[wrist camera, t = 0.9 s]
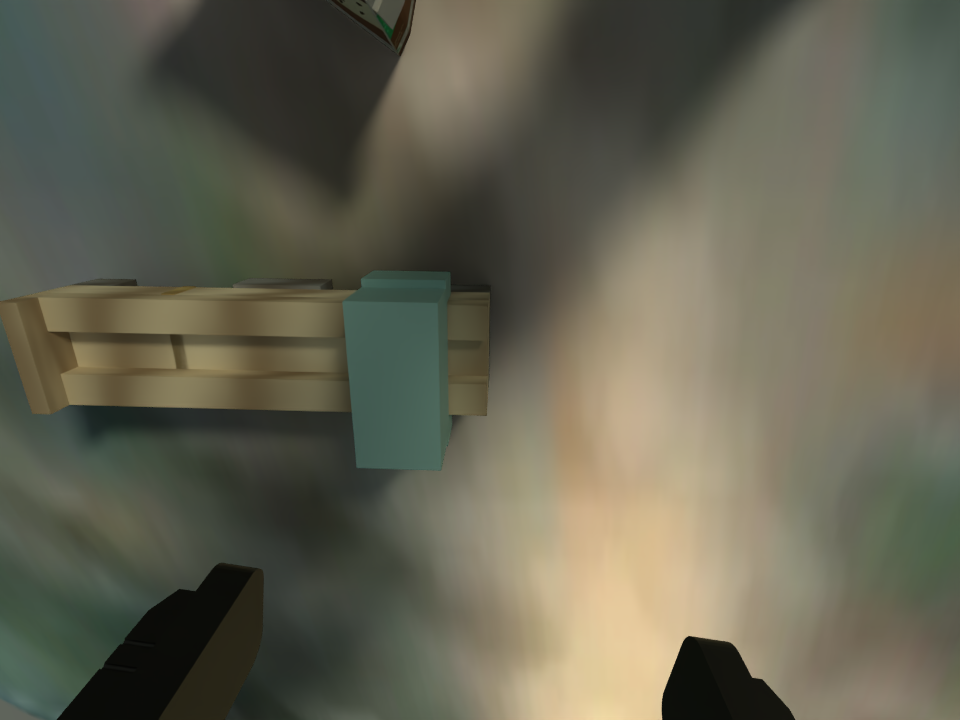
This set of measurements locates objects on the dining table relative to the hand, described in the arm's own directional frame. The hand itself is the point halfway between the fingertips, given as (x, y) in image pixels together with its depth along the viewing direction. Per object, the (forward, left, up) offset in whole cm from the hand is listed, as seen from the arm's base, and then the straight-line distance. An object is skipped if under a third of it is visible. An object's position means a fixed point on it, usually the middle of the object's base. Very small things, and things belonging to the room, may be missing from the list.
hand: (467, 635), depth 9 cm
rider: (+4, +1, -18) cm, 19 cm away
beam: (+12, +1, -22) cm, 25 cm away
